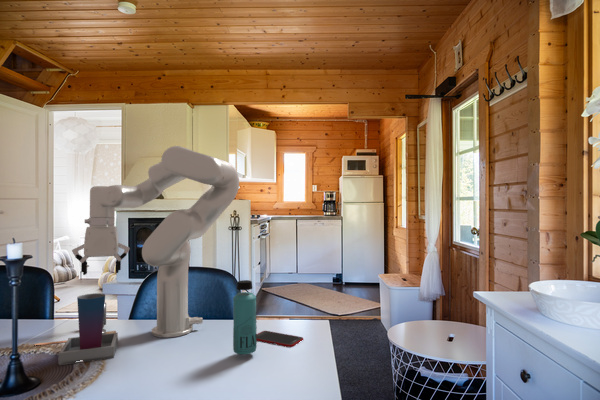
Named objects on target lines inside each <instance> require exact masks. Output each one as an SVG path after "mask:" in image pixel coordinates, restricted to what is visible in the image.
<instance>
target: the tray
mask: <svg viewBox="0 0 600 400" xmlns="http://www.w3.org/2000/svg"><path fill="white" fill-rule="evenodd" d="M118 333H119V332H116V333H109V334H102V343H101V347H98V348H90V349H82V350H80V338H79V336H75V337H68V339H67V341H66V343H63V346H62V348H61V349H60V350H59V352H58V366H63V365H70V364H71V365H72V364H76V363H75V362H76V361H80V360H83V361H85V362H84V363H86V362H93V361H92V360H95V361H101V360H100V359H102V360H107V359H109V360H110V359H114V357H115V355H116V350H117V347H118V343H119V340H118V339H119V338H118Z"/></svg>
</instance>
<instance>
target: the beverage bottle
mask: <svg viewBox="0 0 600 400" xmlns="http://www.w3.org/2000/svg"><path fill="white" fill-rule="evenodd" d="M236 289H237V290H238V291H242V292H238V293H236V294H235V295H234V296H233V297H232V298H233V299H232V301H233V302H232V303H233V306H232V307H233V313H232V315H233V327H232V328H233V329H232V330H233V331H232V337H233V339H232V341H233V342H232V344H233V345H232V347H233V348H232V350H233V352H234V353H235V354H237V355H249V354H253V353H255V352H256V350H257V346H258V344H257V343H258V341H257V337H256V334H257V330H258V328H257V326H258V325H257V319H258V318H257V296H256V295H255V294H254V293H253V292H249V291H250V290H253V281H252V280H251V279H249V280H247V279H246V280H244V279H243V280H238V281H237V283H236ZM243 291H244V292H243ZM247 291H248V292H247Z"/></svg>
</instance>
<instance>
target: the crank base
mask: <svg viewBox="0 0 600 400" xmlns="http://www.w3.org/2000/svg"><path fill="white" fill-rule="evenodd" d="M109 333H117V331H116V330H111V331H110V330H109V331H106V334H109ZM67 340H68V339H67ZM67 340H65V339H64V340H59V341H48V342H40V343H35V344H34V345H35V346H34V347H37V346H36V345H41V346H46V345H48V346H49V345H57V344H65V343H66V341H67Z"/></svg>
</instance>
